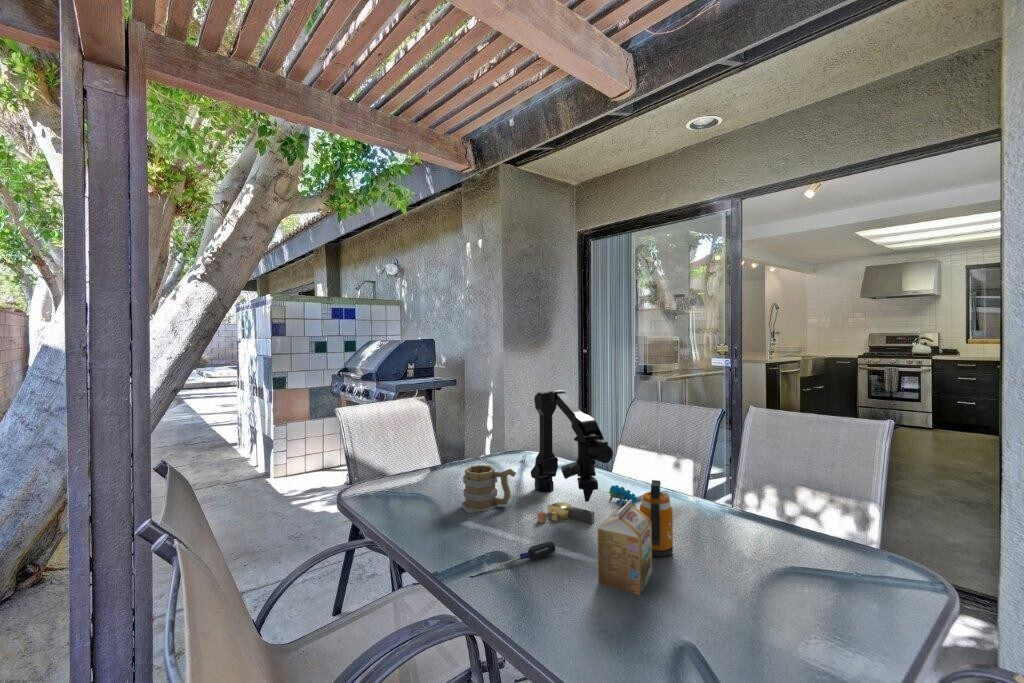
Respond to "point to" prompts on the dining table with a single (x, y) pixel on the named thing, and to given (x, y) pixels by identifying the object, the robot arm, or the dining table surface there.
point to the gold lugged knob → (570, 513)
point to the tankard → (484, 488)
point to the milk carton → (625, 550)
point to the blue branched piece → (621, 494)
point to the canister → (659, 519)
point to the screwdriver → (534, 552)
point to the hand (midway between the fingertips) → (586, 501)
